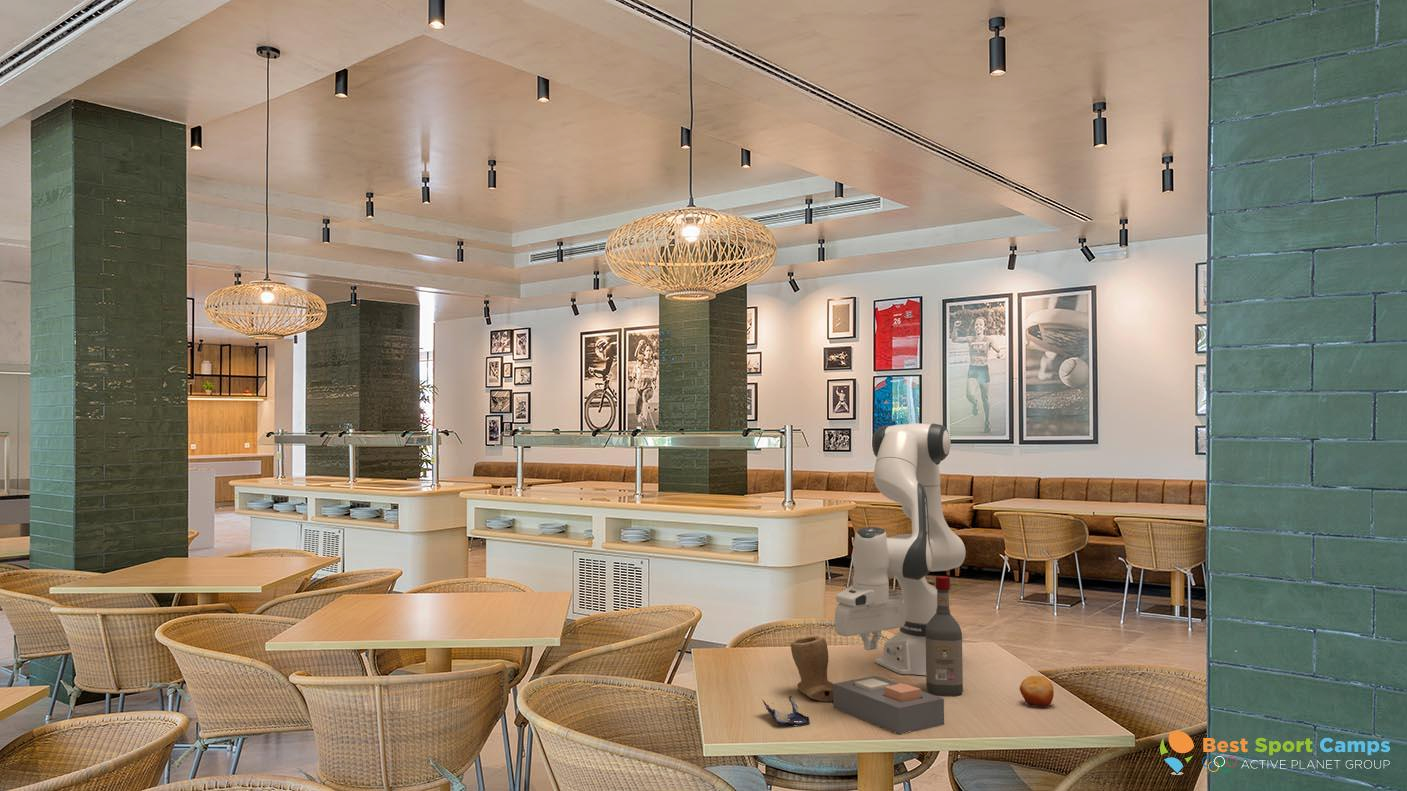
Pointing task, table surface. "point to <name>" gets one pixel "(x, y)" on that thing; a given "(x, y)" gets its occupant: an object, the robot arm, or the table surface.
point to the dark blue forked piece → (789, 715)
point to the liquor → (943, 647)
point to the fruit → (1037, 691)
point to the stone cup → (813, 667)
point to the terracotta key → (902, 692)
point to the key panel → (888, 707)
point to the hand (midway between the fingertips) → (870, 649)
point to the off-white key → (871, 684)
